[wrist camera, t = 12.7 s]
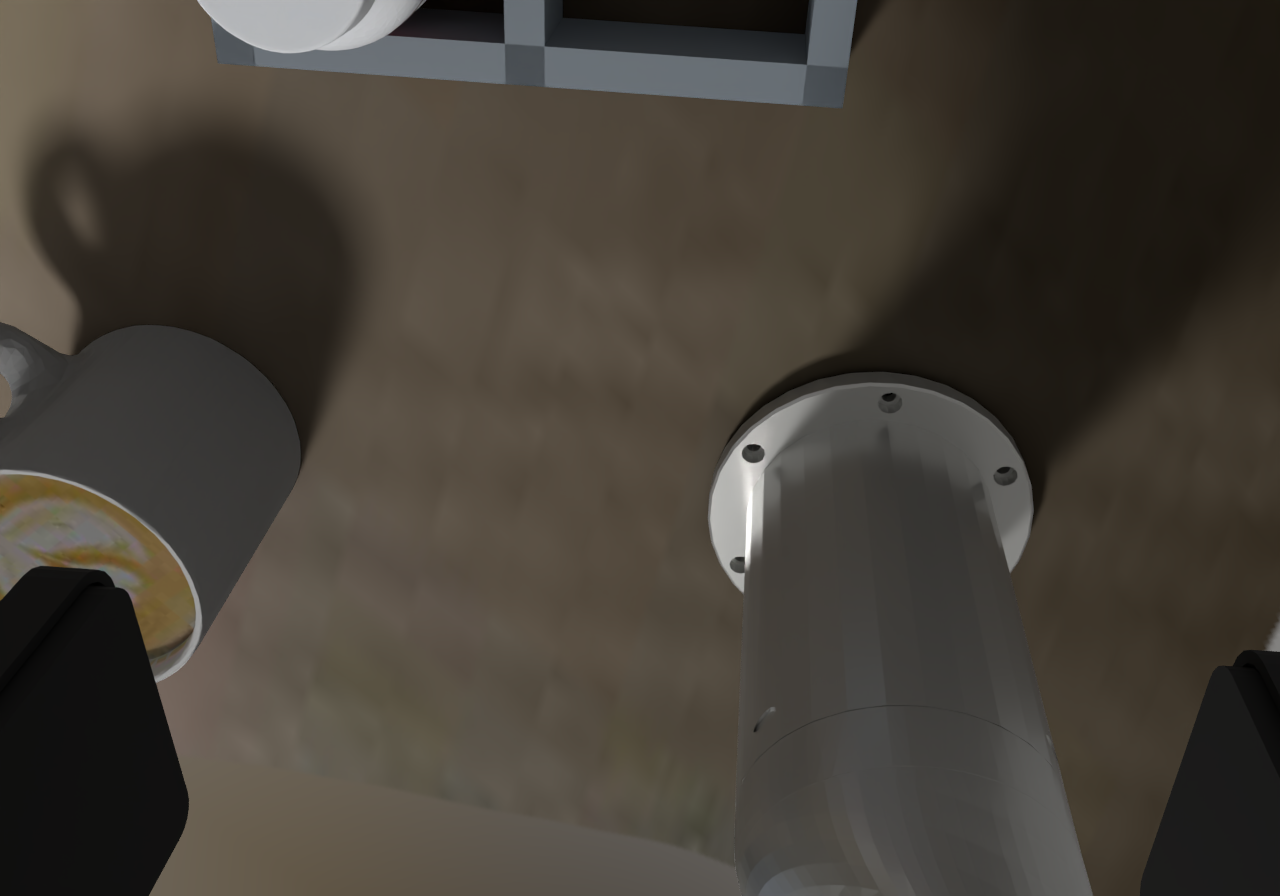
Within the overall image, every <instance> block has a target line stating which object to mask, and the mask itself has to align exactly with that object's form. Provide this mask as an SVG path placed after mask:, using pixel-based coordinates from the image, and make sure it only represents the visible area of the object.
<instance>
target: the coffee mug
mask: <svg viewBox="0 0 1280 896" xmlns="http://www.w3.org/2000/svg"><path fill="white" fill-rule="evenodd" d="M0 373H1V374H2V375H3V376H4V377H5V378H6V380H7V381H8V383H9V385H10V388H11V391H12V401H11V406H10V408H9V410H8V412H7V414H6V416H5V417H4V418H0V601H1V600H2V599H3V597H4V596H5V595H6V594H7V593H8V592H9V591H10V590H11V589H12V587H13V586H14V585H15V584H16V583H17V582H18V581H19V580H20V578H21V577H22V576H23V575H24V574H26V573H27V572H28V571H29V570H30V569H32V568H35V567H38V566H53V567H67V568H81V569H96V570H101V571H105V572H106V573H107V574H108V575H109V576H110V577H111V578H112V580H113V583H114V585H115V587H119V588H123V589H125V590H126V591H127V592H128V593H129V596H130V598H131V600H132V603H133V607H134V610H135V614H136V617H137V620H138V624H139V627H140V631H141V634H142V638H143V641H144V644H145V648H146V651H147V655H148V658H149V661H150V665H151V668H152V672H153V675H154V679H155V682H156V683H157V682H159V681H161V680H163V679H165V678H167V677H169V676H170V675H172V674H174V673H175V672H177V671H178V670H179V669H180V668H181V667H182V666H183V665H184V664H186V662H187V661H188V660H189V658H190V657H191V656H192V654H193V653H194V652H195V650H196V649H197V648H198V646H199V645H200V643H201V641H202V640H203V638H204V636H205V635H206V633H207V631H208V630H209V628H210V626H211V625H212V623H213V621H214V620H215V618H216V616H217V615H218V613H219V611H220V609H221V608H222V606H223V604H224V603H225V601H226V599H227V598H228V596H229V594H230V593H231V591H232V589H233V588H234V586H235V584H236V583H237V581H238V579H239V578H240V576H241V574H242V573H243V571H244V569H245V568H246V566H247V564H248V563H249V561H250V559H251V558H252V556H253V554H254V553H255V551H256V549H257V547H258V546H259V544H260V542H261V541H262V539H263V537H264V536H265V534H266V532H267V531H268V529H269V527H270V526H271V524H272V522H273V521H274V519H275V517H276V516H277V514H278V512H279V511H280V509H281V507H282V506H283V504H284V502H285V501H286V499H287V497H288V496H289V494H290V492H291V490H292V489H293V487H294V484H295V482H296V479H297V477H298V473H299V469H300V462H301V449H300V440H299V436H298V432H297V429H296V425H295V422H294V419H293V417H292V414H291V412H290V410H289V409H288V407H287V405H286V403H285V402H284V400H283V399H282V397H281V396H280V394H279V393H278V391H277V390H276V388H275V387H274V386H273V385H272V384H271V382H270V381H269V380H268V379H267V378H266V377H265V376H264V375H263V374H262V373H261V372H260V371H259V370H258V369H257V368H256V367H254V366H253V365H252V364H251V363H250V362H249V361H247V360H246V359H245V358H243V357H242V356H241V355H239V354H238V353H236V352H234V351H233V350H231V349H230V348H228V347H226V346H224V345H223V344H221V343H219V342H217V341H215V340H213V339H211V338H209V337H206V336H203V335H200V334H198V333H195V332H192V331H188V330H184V329H180V328H176V327H170V326H160V325H137V326H130V327H126V328H122V329H118V330H115V331H112V332H110V333H108V334H105V335H103V336H101V337H99V338H98V339H96V340H94V341H93V342H91V343H90V344H89V345H88V346H86V347H85V348H84V349H83V350H82V351H81V352H80V353H79V354H77V355H73V356H70V355H66V354H61V353H59V352H57V351H55V350H54V349H52V348H50V347H49V346H47V345H45V344H44V343H42V342H40V341H38V340H37V339H35V338H33V337H32V336H30V335H28V334H26V333H25V332H23V331H21V330H19V329H17V328H16V327H14V326H11V325H8V324H4V323H1V322H0Z"/></svg>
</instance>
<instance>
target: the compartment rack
mask: <svg viewBox="0 0 1280 896" xmlns="http://www.w3.org/2000/svg"><path fill="white" fill-rule="evenodd" d="M856 6H857V0H809V4H808V12H807V21H806V30H805V34H793V33H779V32H764V31H750V30H735V29H720V28H706V27H691V26H676V25H662V24H647V23H633V22H618V21H603V20H589V19H574V18H563V0H504V14H501V13H486V12H472V11H457V10H443V9H428V8H418V9H417V10H416V11H415V12H414V13H413V14H412V15H411V16H410V17H409V18H408V19H407V20H406V21H405V22H404V23H402V24H401V25H400V26H399V27H398V28H396V29H395V30H393V31H392V32H391V33H389V34H388V35H386V36H385V37H383V38H381V39H379V40H377V41H375V42H373V43H370V44H367V45H364V46H362V47H358V48H354V49H347V50H338V51H327V50H316V49H315V50H312V51H307V52H301V53H279V52H272V51H268V50H264V49H261V48H258V47H255V46H253V45H250V44H248V43H246V42H244V41H242V40H240V39H239V38H237V37H235V36H234V35H232V34H231V33H229V32H228V31H226V30H225V29H224V28H223V27H221V26H220V25H219V24H218V23H217V22H216V21H215V20H214V19H213V18H212V17H211V21H212V28H213V34H214V40H215V47H216V53H217V60H218V63H221V64H235V65H248V66H262V67H276V68H290V69H304V70H318V71H332V72H346V73H359V74H373V75H387V76H401V77H415V78H429V79H443V80H457V81H471V82H484V83H498V84H512V85H526V86H540V87H554V88H568V89H582V90H596V91H609V92H623V93H637V94H651V95H665V96H679V97H693V98H707V99H721V100H734V101H748V102H762V103H776V104H790V105H804V106H818V107H832V108H842V107H843V100H844V93H845V85H846V78H847V71H848V64H849V56H850V49H851V42H852V35H853V27H854V20H855V13H856Z"/></svg>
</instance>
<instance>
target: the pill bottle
mask: <svg viewBox="0 0 1280 896" xmlns="http://www.w3.org/2000/svg"><path fill="white" fill-rule="evenodd" d="M197 1H198V2H199V4H200V5H201V6H202V7H203V9H204V10H205V11H206V12H207V13H208V14H209V15H210V16H211V17H212V18H213V19H214V20H215V21H216V22H217V23H218V24H219V25H220V26H221V27H223V28H224V29H225V30H226V31H228V32H229V33H231V34H232V35H234V36H235V37H237V38H239V39H240V40H242V41H244V42H246V43H248V44H250V45H253V46H255V47H258V48H261V49H264V50H268V51H272V52H279V53H301V52H307V51H312V50H315V49H316V50H327V51H338V50H347V49H354V48H358V47H362V46H364V45H367V44H370V43H373V42H375V41H377V40H379V39H381V38H383V37H385V36H386V35H388V34H389V33H391V32H392V31H393V30H395V29H396V28H398V27H399V26H400V25H401V24H402V23H404V22H405V21H406V20H407V19H408V18H409V17H410V16H411V15H412V14H413V13H414V12H415V11H416V10H417V9H418V8H419V7H420V6H421V5H422V4H423V3H424V2H425V1H427V0H197Z"/></svg>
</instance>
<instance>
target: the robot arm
mask: <svg viewBox="0 0 1280 896" xmlns="http://www.w3.org/2000/svg"><path fill="white" fill-rule="evenodd" d="M886 393H893V394H892V395H888V396H886V395H884V394H886ZM751 444H757V445H751ZM1033 513H1034V508H1033V496H1032V486H1031V482H1030V479H1029V475H1028V472H1027V468H1026V465H1025V462H1024V460H1023V458H1022V456H1021V454H1020V451H1019V449H1018V447H1017V445H1016V443H1015V441H1014V439H1013V438H1012V436H1011V435H1010V434H1009V433H1008V431H1007V430H1006V429H1005V428H1004V427H1003V425H1002V424H1001V423H1000V422H999V420H998V419H997V418H996V417H995V416H994V415H993V414H991V413H990V412H989V411H988V410H986V409H985V408H984V407H983V406H981V405H980V404H979V403H978V402H976V401H975V400H974V399H972V398H970V397H968V396H966V395H964V394H962V393H961V392H959V391H957V390H955V389H953V388H951V387H949V386H947V385H944V384H941V383H938V382H935V381H931V380H928V379H925V378H921V377H918V376H914V375H906V374H898V373H890V372H861V373H848V374H843V375H838V376H833V377H828V378H823V379H818V380H816V381H813V382H811V383H808V384H805V385H803V386H800V387H798V388H795V389H792V390H790V391H788V392H786V393H785V394H783V395H781V396H780V397H778V398H776V399H775V400H773V401H771V402H769V403H768V404H766V405H764V406H763V407H762V408H761V409H760V410H758V411H757V412H756V413H755V414H754V415H753V416H752V417H750V418H749V419H748V420H747V421H746V422H745V423H744V424H743V425H741V427H740V428H739V429H738V431H737V432H736V433H735V435H734V436H733V437H732V439H731V440H730V441H729V443H728V444H727V445H726V446H725V448H724V450H723V453H722V455H721V457H720V459H719V461H718V463H717V465H716V468H715V470H714V474H713V479H712V483H711V488H710V493H709V509H708V523H709V530H710V537H711V542H712V545H713V548H714V550H715V553H716V555H717V558H718V560H719V563H720V565H721V566H722V568H723V569H724V571H725V572H726V574H727V575H728V577H729V578H730V580H731V581H732V583H733V584H734V585H735V586H736V587H737V588H738V589H739V590H740V591H741V592H742V593H743V594H744V600H743V624H742V649H741V674H740V698H739V723H738V748H737V772H736V797H735V828H734V856H735V867H736V874H737V878H738V883H739V887H740V892H741V895H742V896H1093V894H1092V890H1091V887H1090V883H1089V880H1088V876H1087V873H1086V869H1085V866H1084V862H1083V859H1082V855H1081V851H1080V847H1079V843H1078V839H1077V836H1076V832H1075V828H1074V824H1073V820H1072V816H1071V812H1070V808H1069V805H1068V801H1067V797H1066V793H1065V789H1064V785H1063V781H1062V777H1061V773H1060V769H1059V765H1058V761H1057V757H1056V753H1055V749H1054V745H1053V741H1052V737H1051V734H1050V730H1049V726H1048V722H1047V718H1046V714H1045V710H1044V706H1043V702H1042V699H1041V695H1040V691H1039V687H1038V683H1037V679H1036V675H1035V671H1034V667H1033V663H1032V659H1031V655H1030V651H1029V647H1028V643H1027V639H1026V635H1025V631H1024V627H1023V623H1022V619H1021V616H1020V612H1019V608H1018V604H1017V600H1016V596H1015V592H1014V588H1013V584H1012V580H1011V576H1010V573H1011V572H1012V570H1013V569H1014V567H1015V566H1016V565H1017V563H1018V562H1019V560H1020V558H1021V556H1022V554H1023V551H1024V549H1025V546H1026V544H1027V541H1028V539H1029V537H1030V532H1031V525H1032V519H1033ZM188 810H189V798H188V792H187V788H186V785H185V782H184V778H183V774H182V771H181V768H180V764H179V761H178V757H177V754H176V750H175V747H174V744H173V740H172V737H171V733H170V730H169V726H168V723H167V720H166V716H165V713H164V709H163V706H162V703H161V699H160V696H159V692H158V689H157V685H156V682H155V679H154V675H153V672H152V668H151V665H150V661H149V658H148V655H147V651H146V648H145V644H144V641H143V638H142V634H141V631H140V627H139V624H138V620H137V617H136V614H135V610H134V607H133V603H132V600H131V598H130V596H129V593H128V592H127V591H126V590H125V589H123V588H119V587H115V585H114V583H113V580H112V578H111V577H110V576H109V575H108V574H107V573H106V572H105V571H101V570H96V569H81V568H67V567H53V566H38V567H35V568H32V569H30V570H29V571H28V572H27V573H26V574H24V575H23V576H22V577H21V578H20V580H19V581H18V582H17V583H16V584H15V585H14V586H13V587H12V589H11V590H10V591H9V592H8V593H7V594H6V595H5V596H4V597H3V599H2V600H1V601H0V896H149V894H150V892H151V890H152V889H153V887H154V885H155V883H156V881H157V879H158V878H159V876H160V874H161V872H162V870H163V868H164V867H165V865H166V863H167V861H168V859H169V857H170V856H171V853H172V852H173V850H174V848H175V846H176V844H177V843H178V841H179V839H180V837H181V835H182V833H183V830H184V828H185V824H186V820H187V816H188ZM1140 896H1280V652H1274V651H1259V650H1246V651H1243V652H1242V653H1241V654H1240V655H1239V656H1238V657H1237V659H1236V661H1235V663H1234V665H1233V666H1218V667H1217V668H1216V669H1215V670H1214V671H1213V673H1212V676H1211V678H1210V680H1209V683H1208V686H1207V689H1206V692H1205V695H1204V698H1203V701H1202V704H1201V707H1200V710H1199V712H1198V715H1197V718H1196V721H1195V724H1194V727H1193V730H1192V733H1191V736H1190V739H1189V742H1188V745H1187V747H1186V750H1185V753H1184V756H1183V759H1182V762H1181V765H1180V768H1179V771H1178V774H1177V777H1176V780H1175V782H1174V785H1173V788H1172V791H1171V794H1170V797H1169V800H1168V803H1167V806H1166V809H1165V812H1164V815H1163V817H1162V820H1161V823H1160V826H1159V829H1158V832H1157V835H1156V838H1155V841H1154V844H1153V847H1152V850H1151V852H1150V855H1149V858H1148V861H1147V864H1146V867H1145V870H1144V873H1143V876H1142V881H1141V888H1140Z"/></svg>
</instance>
